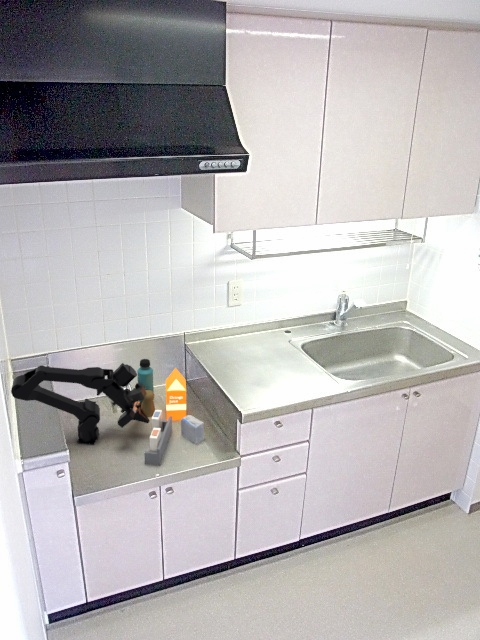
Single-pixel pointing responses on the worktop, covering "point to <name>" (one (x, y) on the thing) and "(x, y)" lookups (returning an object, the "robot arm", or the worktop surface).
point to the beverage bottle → (145, 375)
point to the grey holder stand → (160, 444)
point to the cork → (149, 403)
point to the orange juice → (176, 395)
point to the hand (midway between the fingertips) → (148, 422)
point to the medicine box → (192, 429)
